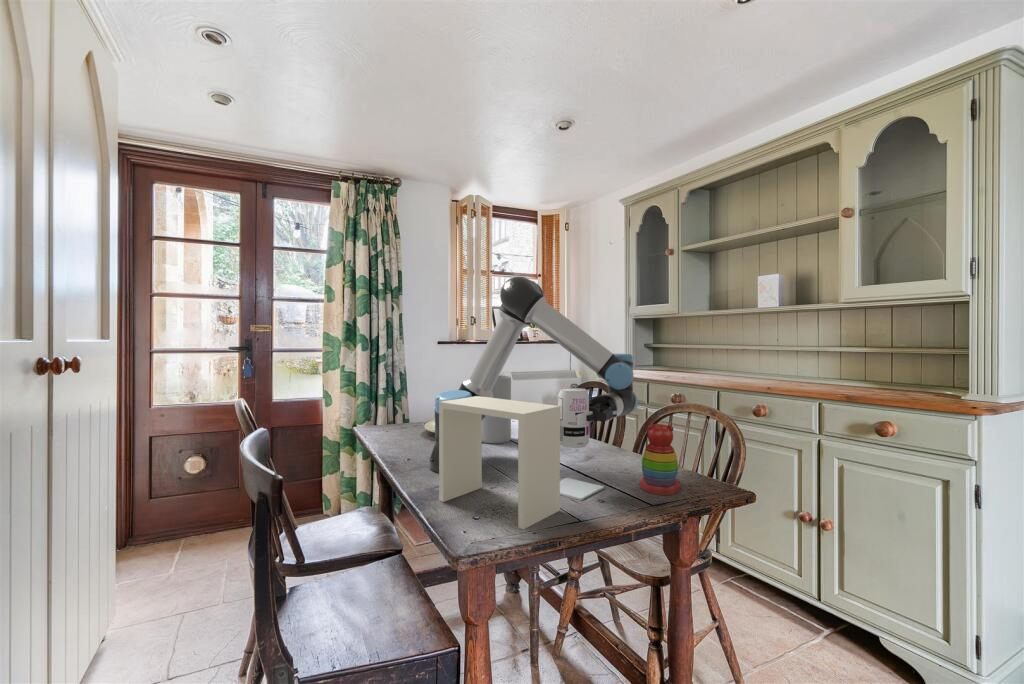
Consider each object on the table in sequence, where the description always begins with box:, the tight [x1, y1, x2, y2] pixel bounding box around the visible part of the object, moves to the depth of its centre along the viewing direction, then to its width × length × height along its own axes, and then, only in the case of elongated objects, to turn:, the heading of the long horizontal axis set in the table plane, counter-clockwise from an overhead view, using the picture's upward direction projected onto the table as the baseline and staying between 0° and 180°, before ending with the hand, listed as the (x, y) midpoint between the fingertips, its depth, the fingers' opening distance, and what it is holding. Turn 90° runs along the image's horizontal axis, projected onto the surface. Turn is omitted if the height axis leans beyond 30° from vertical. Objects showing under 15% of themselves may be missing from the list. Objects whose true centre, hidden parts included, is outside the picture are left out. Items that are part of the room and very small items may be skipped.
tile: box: [560, 477, 605, 501], centre depth 127 cm, size 12×12×1 cm
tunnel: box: [438, 396, 561, 530], centre depth 115 cm, size 14×27×25 cm, turn 51°
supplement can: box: [557, 387, 590, 449], centre depth 127 cm, size 8×8×15 cm
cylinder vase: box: [482, 375, 512, 445], centre depth 184 cm, size 12×12×25 cm
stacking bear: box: [639, 423, 682, 496], centre depth 127 cm, size 11×10×18 cm
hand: (563, 417), depth 123 cm, fingers closed on supplement can, 8 cm apart
